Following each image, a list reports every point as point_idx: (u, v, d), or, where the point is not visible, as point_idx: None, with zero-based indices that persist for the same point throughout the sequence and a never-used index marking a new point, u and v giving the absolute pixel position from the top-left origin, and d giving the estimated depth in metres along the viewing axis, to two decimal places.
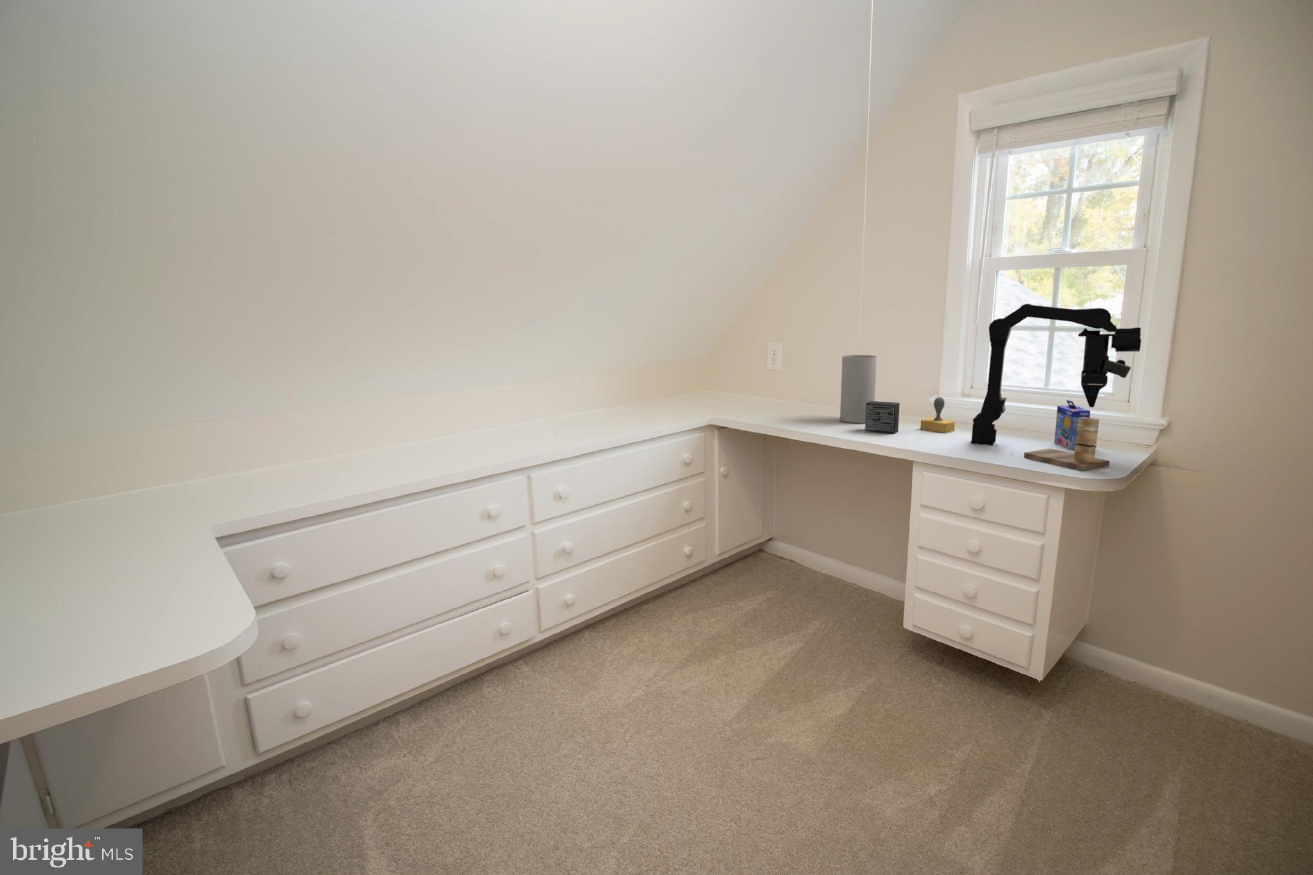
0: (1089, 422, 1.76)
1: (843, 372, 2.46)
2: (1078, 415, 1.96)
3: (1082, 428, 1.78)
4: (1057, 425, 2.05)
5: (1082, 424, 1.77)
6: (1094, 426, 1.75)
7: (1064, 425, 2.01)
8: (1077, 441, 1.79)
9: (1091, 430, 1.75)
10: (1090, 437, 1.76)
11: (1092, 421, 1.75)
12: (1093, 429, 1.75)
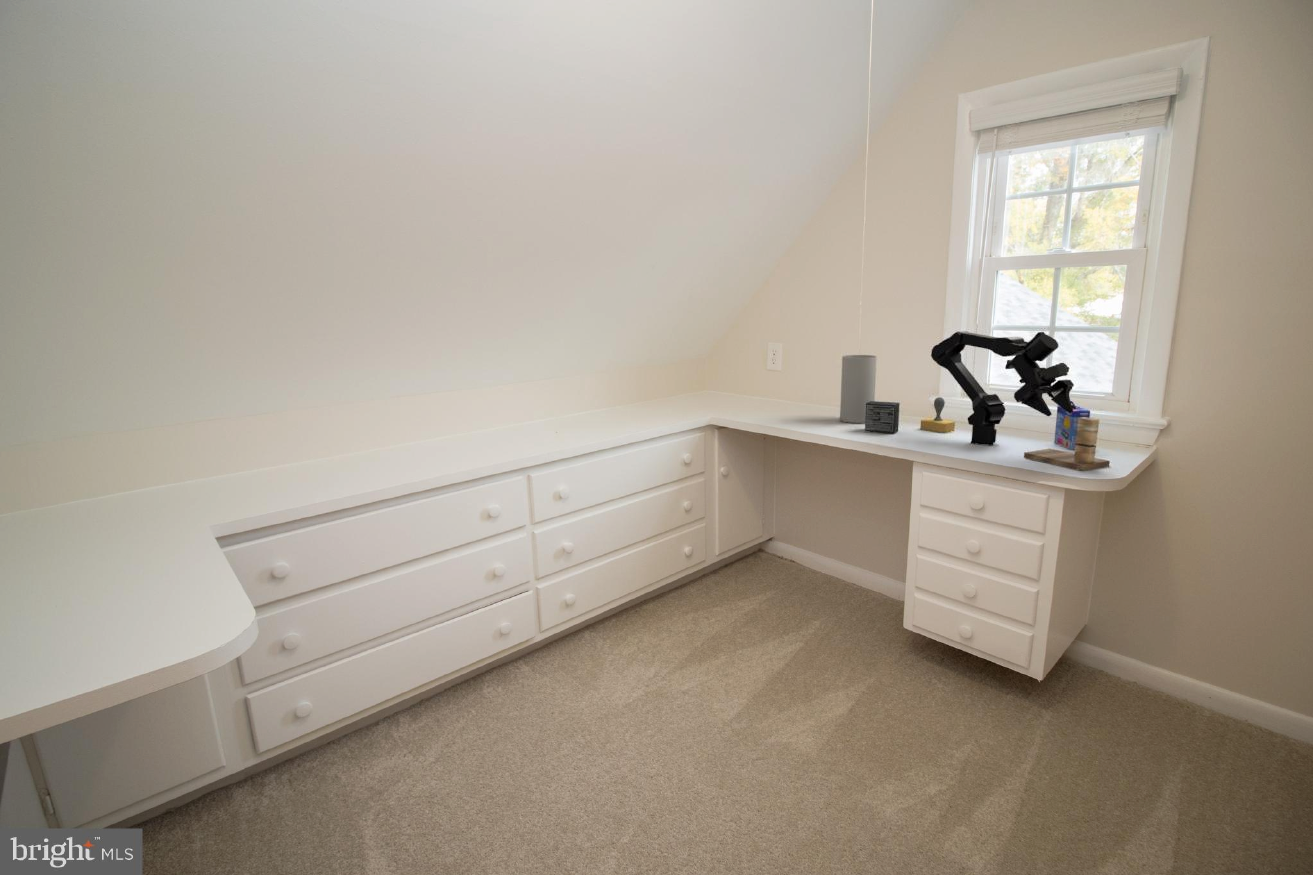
0: (1089, 422, 1.76)
1: (843, 372, 2.46)
2: (1078, 415, 1.96)
3: (1082, 428, 1.78)
4: (1057, 425, 2.05)
5: (1082, 424, 1.77)
6: (1094, 426, 1.75)
7: (1064, 425, 2.01)
8: (1077, 441, 1.79)
9: (1091, 430, 1.75)
10: (1090, 437, 1.76)
11: (1092, 421, 1.75)
12: (1093, 429, 1.75)
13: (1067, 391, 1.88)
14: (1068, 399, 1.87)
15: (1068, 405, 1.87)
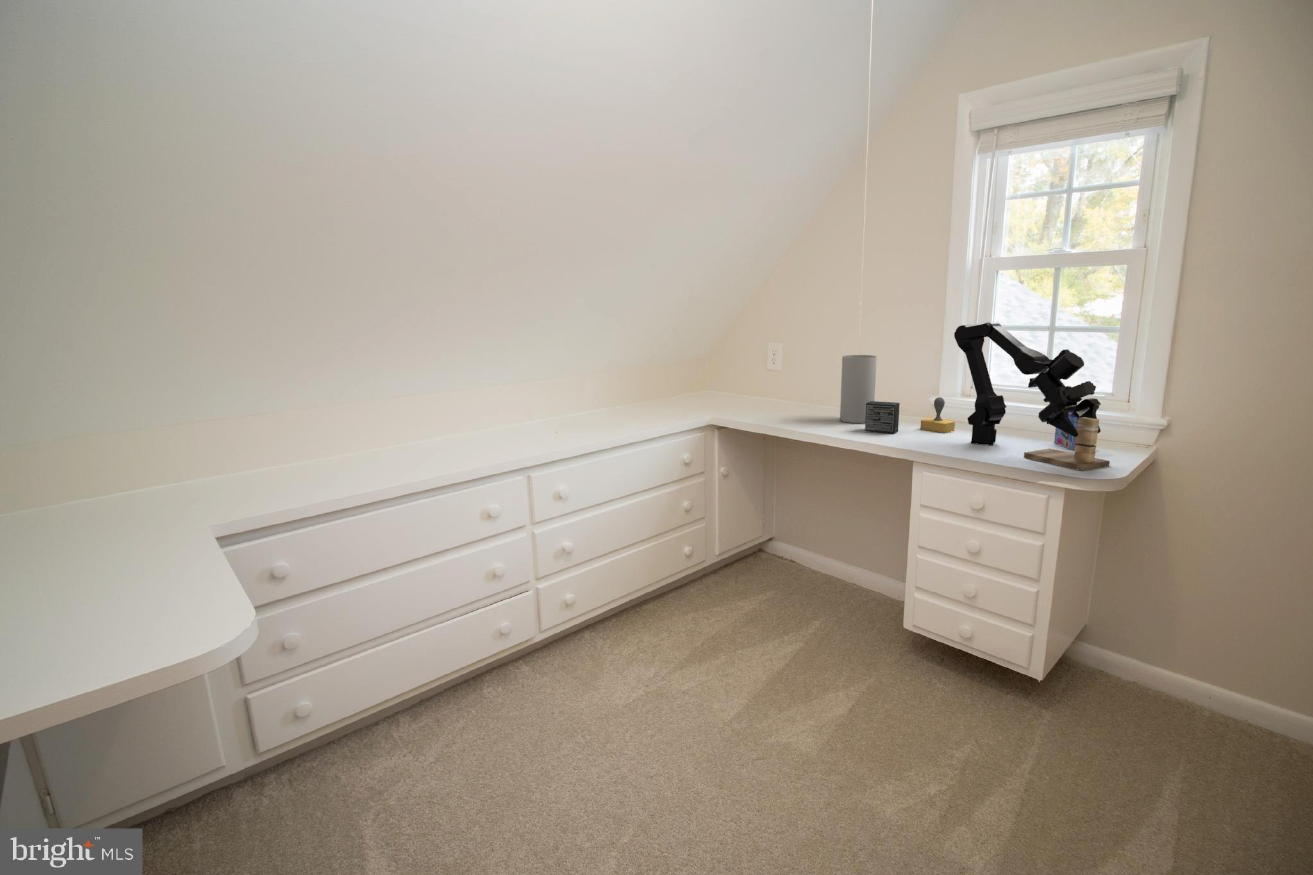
0: (1089, 422, 1.76)
1: (843, 372, 2.46)
2: None
3: (1082, 428, 1.78)
4: None
5: (1082, 424, 1.77)
6: (1094, 426, 1.75)
7: None
8: (1077, 441, 1.79)
9: (1091, 430, 1.75)
10: (1090, 437, 1.76)
11: (1092, 421, 1.75)
12: (1093, 429, 1.75)
13: (1094, 410, 1.81)
14: None
15: None
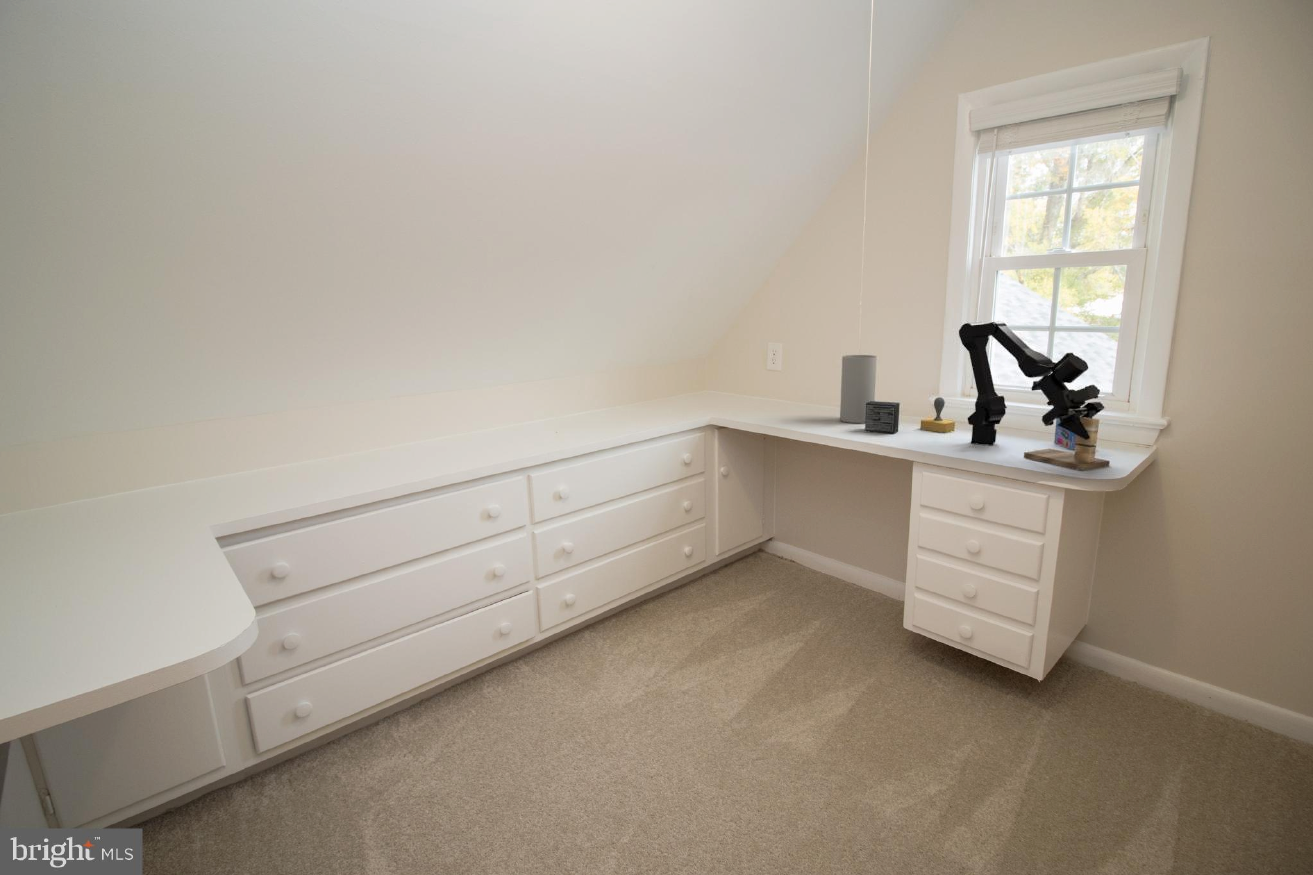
0: (1089, 422, 1.76)
1: (843, 372, 2.46)
2: None
3: None
4: None
5: (1082, 424, 1.77)
6: (1094, 426, 1.75)
7: None
8: (1077, 441, 1.79)
9: (1091, 430, 1.75)
10: (1090, 437, 1.76)
11: (1092, 421, 1.75)
12: (1093, 429, 1.75)
13: (1090, 415, 1.79)
14: None
15: None
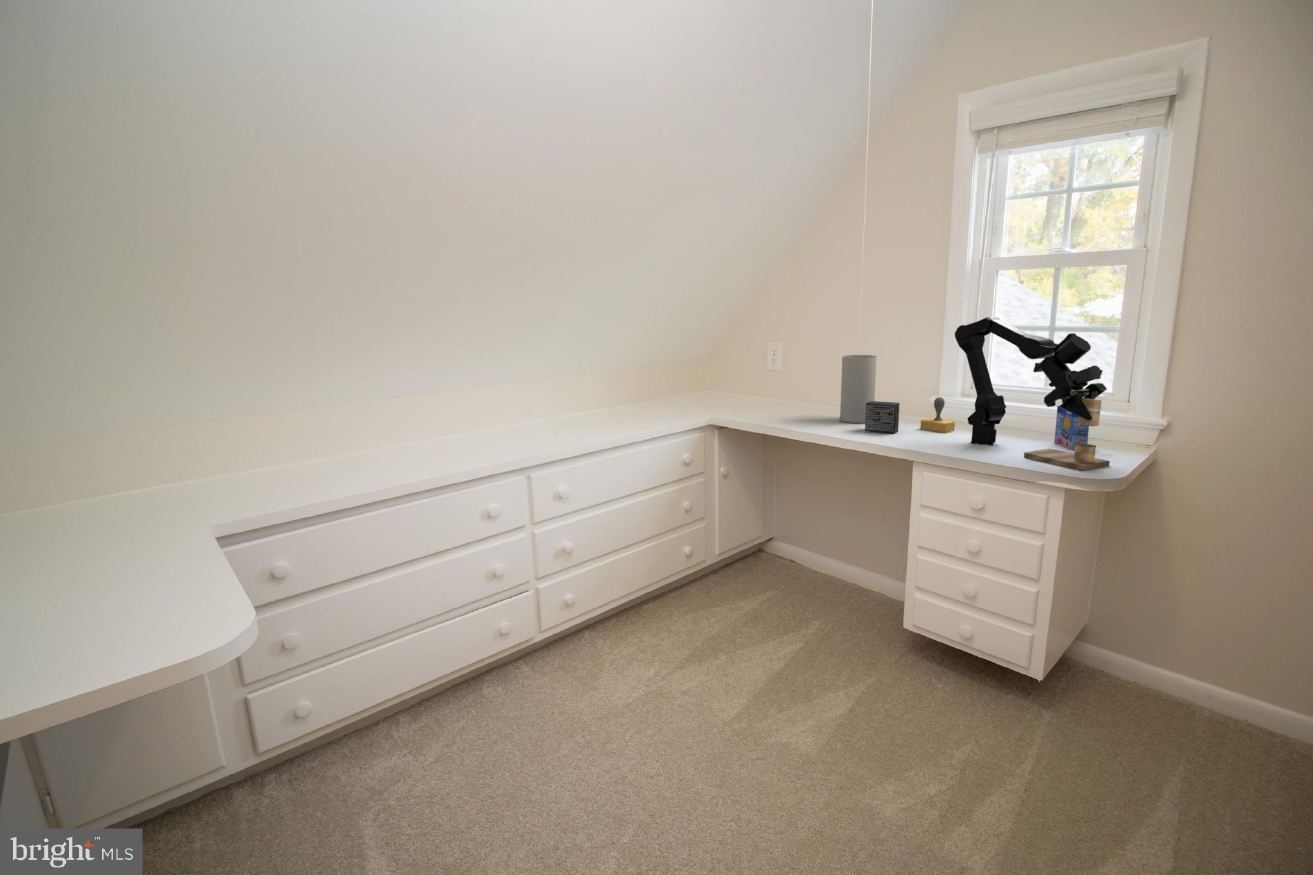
0: (1091, 403, 1.75)
1: (843, 372, 2.46)
2: None
3: None
4: (1057, 425, 2.05)
5: None
6: (1097, 406, 1.74)
7: (1064, 425, 2.01)
8: (1079, 422, 1.78)
9: (1094, 411, 1.74)
10: (1092, 418, 1.75)
11: (1094, 402, 1.74)
12: (1095, 410, 1.74)
13: (1092, 396, 1.78)
14: None
15: None
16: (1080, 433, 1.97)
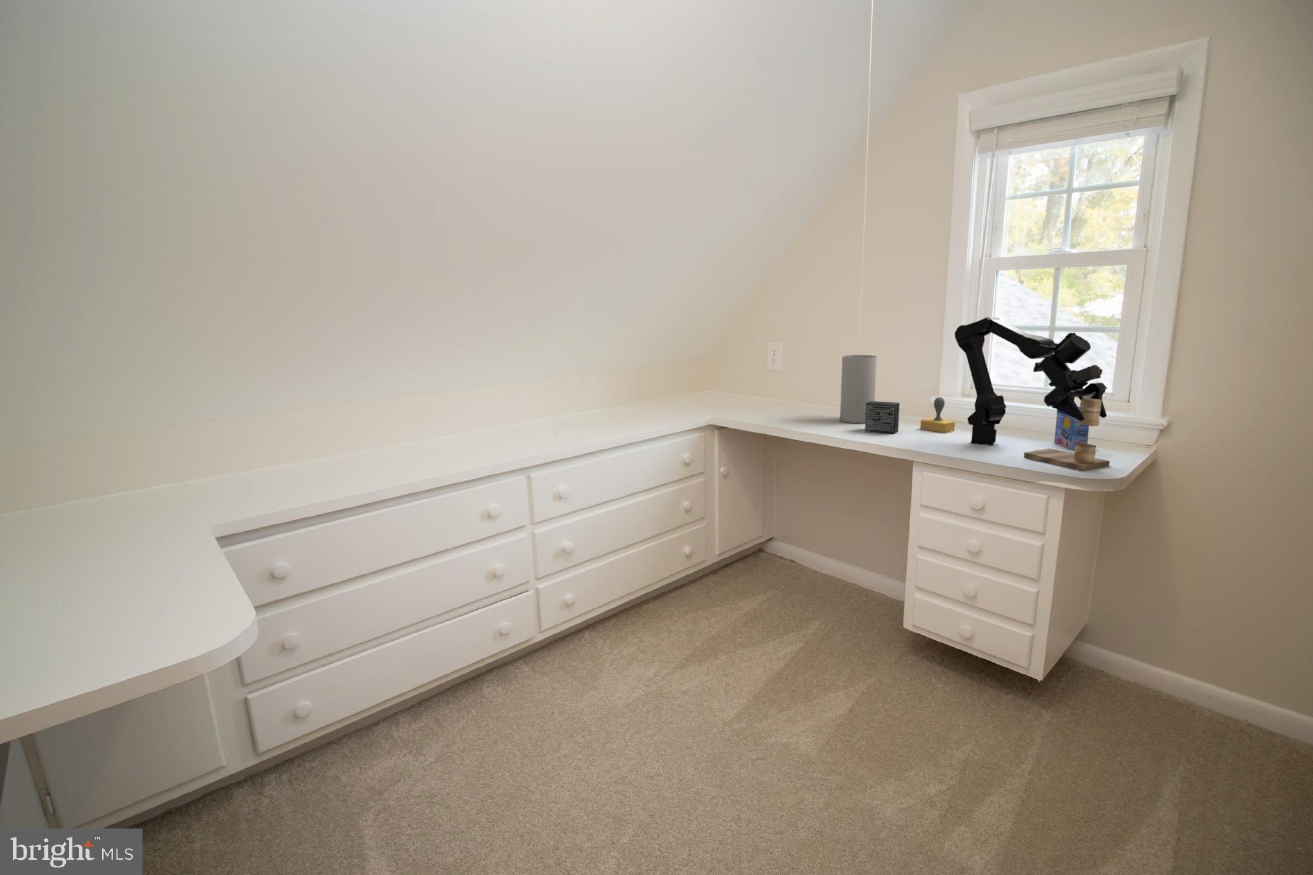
0: (1091, 403, 1.75)
1: (843, 372, 2.46)
2: None
3: (1084, 409, 1.76)
4: (1057, 425, 2.05)
5: (1084, 405, 1.76)
6: (1097, 406, 1.74)
7: (1064, 425, 2.01)
8: (1079, 422, 1.78)
9: (1094, 411, 1.74)
10: (1092, 418, 1.75)
11: (1094, 401, 1.74)
12: (1095, 410, 1.74)
13: (1100, 395, 1.79)
14: (1101, 403, 1.79)
15: (1101, 409, 1.78)
16: (1080, 433, 1.97)
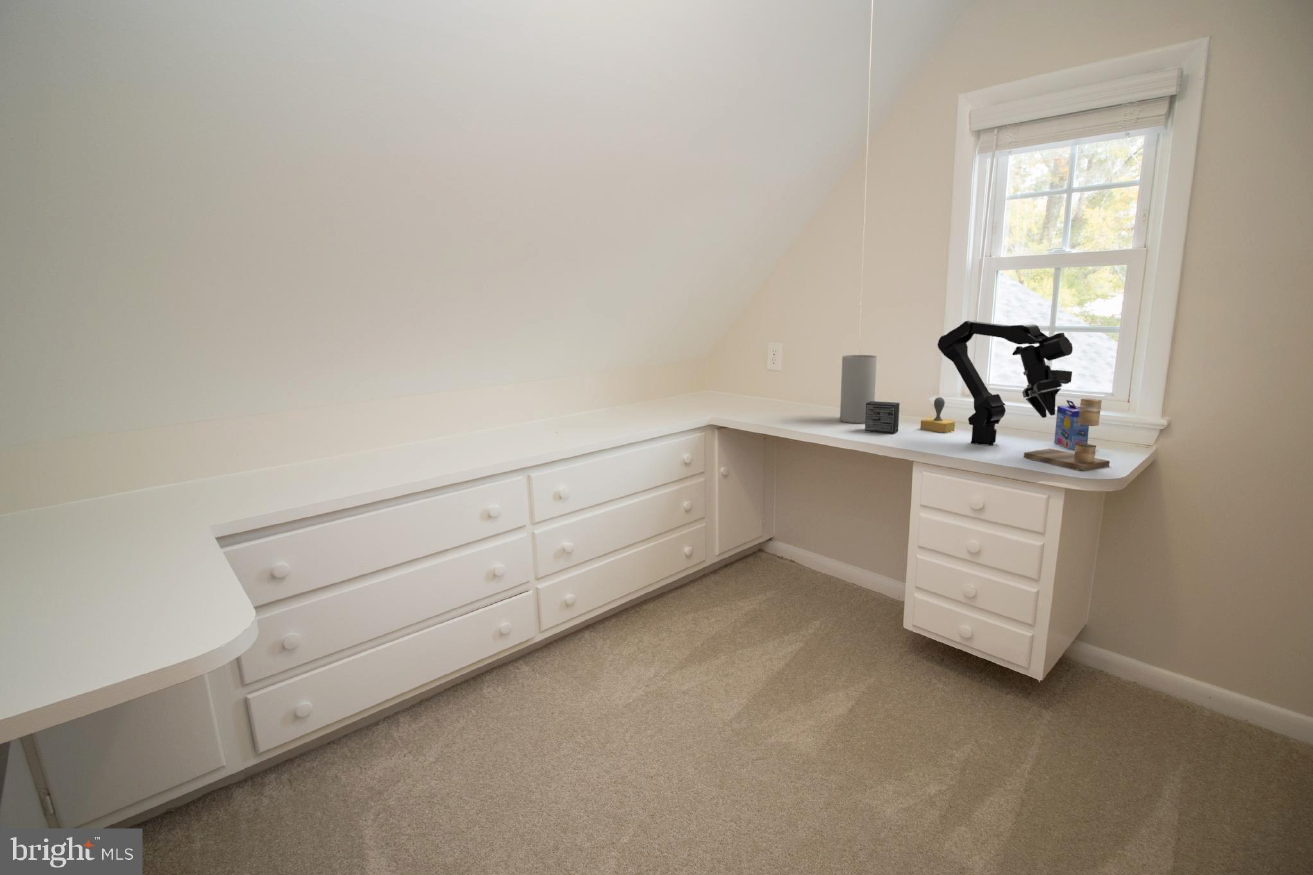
0: (1091, 403, 1.75)
1: (843, 372, 2.46)
2: (1078, 415, 1.96)
3: (1084, 409, 1.76)
4: (1057, 425, 2.05)
5: (1084, 405, 1.76)
6: (1097, 406, 1.74)
7: (1064, 425, 2.01)
8: (1079, 422, 1.78)
9: (1094, 411, 1.74)
10: (1092, 418, 1.75)
11: (1094, 401, 1.74)
12: (1095, 410, 1.74)
13: None
14: None
15: (1044, 410, 1.94)
16: (1080, 433, 1.97)
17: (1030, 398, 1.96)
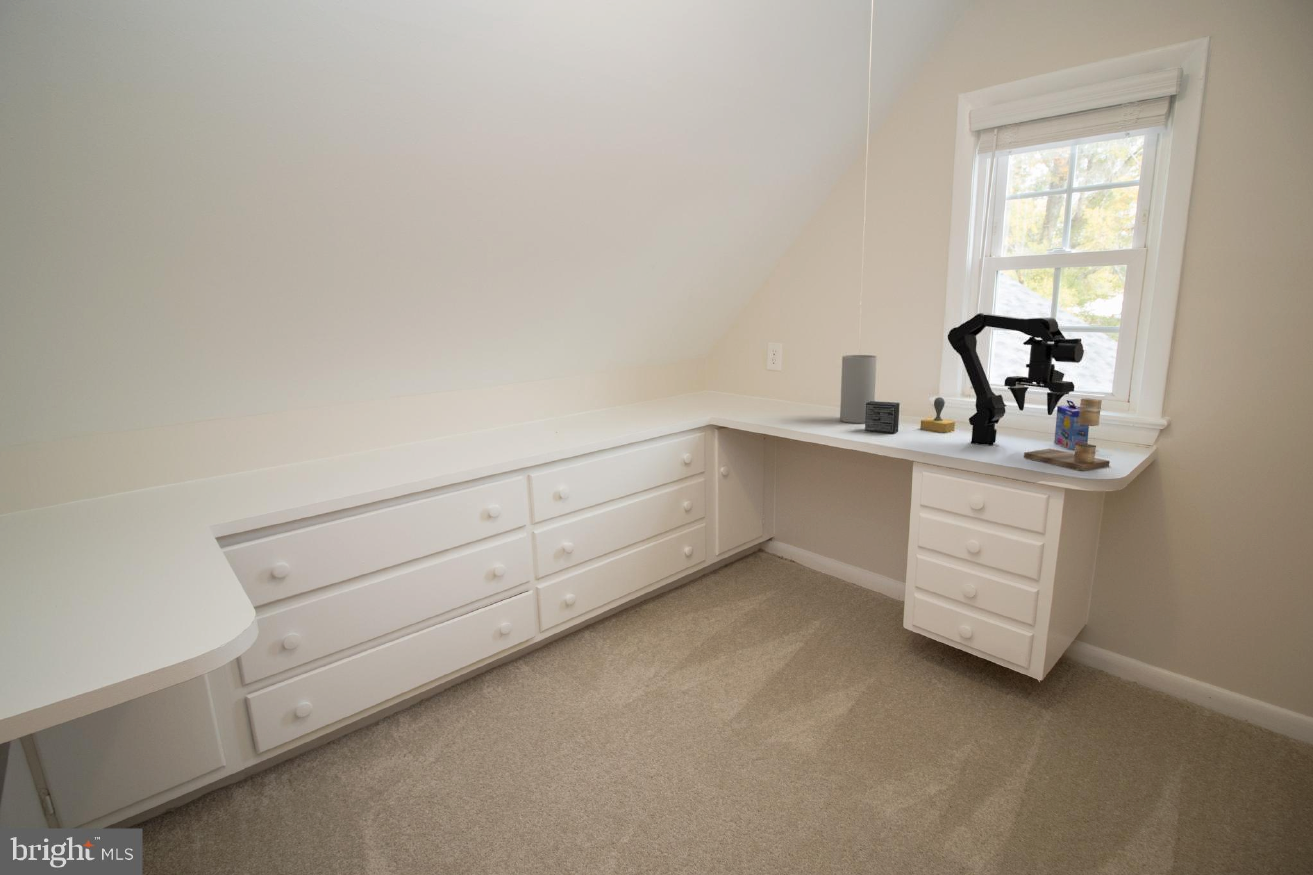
0: (1091, 403, 1.75)
1: (843, 372, 2.46)
2: (1078, 415, 1.96)
3: (1084, 409, 1.76)
4: (1057, 425, 2.05)
5: (1084, 405, 1.76)
6: (1097, 406, 1.74)
7: (1064, 425, 2.01)
8: (1079, 422, 1.78)
9: (1094, 411, 1.74)
10: (1092, 418, 1.75)
11: (1094, 401, 1.74)
12: (1095, 410, 1.74)
13: None
14: None
15: (1023, 403, 1.99)
16: (1080, 433, 1.97)
17: (1017, 389, 1.97)
